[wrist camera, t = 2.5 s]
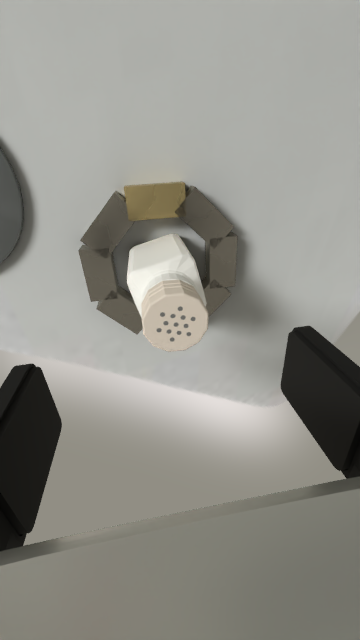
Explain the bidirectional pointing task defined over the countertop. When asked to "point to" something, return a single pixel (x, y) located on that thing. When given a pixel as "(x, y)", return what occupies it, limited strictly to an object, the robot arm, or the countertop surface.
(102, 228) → the collar
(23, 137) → the countertop surface
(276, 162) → the countertop surface
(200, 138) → the countertop surface
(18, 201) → the gray glossy dome
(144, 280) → the salt shaker
